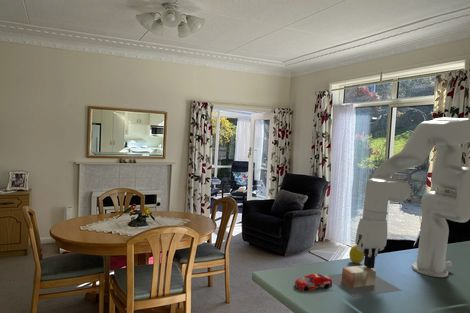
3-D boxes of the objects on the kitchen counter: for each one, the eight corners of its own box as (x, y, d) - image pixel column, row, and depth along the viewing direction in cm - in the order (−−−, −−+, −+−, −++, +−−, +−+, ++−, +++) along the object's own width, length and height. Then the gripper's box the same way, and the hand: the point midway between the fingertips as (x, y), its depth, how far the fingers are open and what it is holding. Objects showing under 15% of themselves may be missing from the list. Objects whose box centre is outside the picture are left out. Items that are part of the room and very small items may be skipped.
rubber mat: (367, 272, 136) (368, 271, 136) (401, 291, 121) (401, 290, 121) (323, 277, 128) (323, 275, 128) (353, 298, 114) (353, 296, 113)
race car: (299, 293, 115) (300, 281, 115) (291, 285, 120) (292, 274, 120) (334, 289, 120) (335, 277, 120) (325, 282, 125) (326, 271, 125)
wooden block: (365, 265, 128) (342, 267, 124) (376, 270, 123) (352, 273, 119) (364, 278, 128) (341, 281, 124) (374, 284, 124) (350, 287, 120)
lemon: (364, 268, 140) (366, 248, 140) (349, 265, 141) (351, 246, 141) (362, 262, 146) (364, 243, 145) (347, 260, 147) (349, 241, 146)
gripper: (383, 211, 130) (377, 261, 131) (349, 212, 124) (344, 264, 126) (399, 217, 123) (393, 269, 124) (364, 218, 117) (358, 273, 119)
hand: (368, 266), depth 125 cm, fingers closed
